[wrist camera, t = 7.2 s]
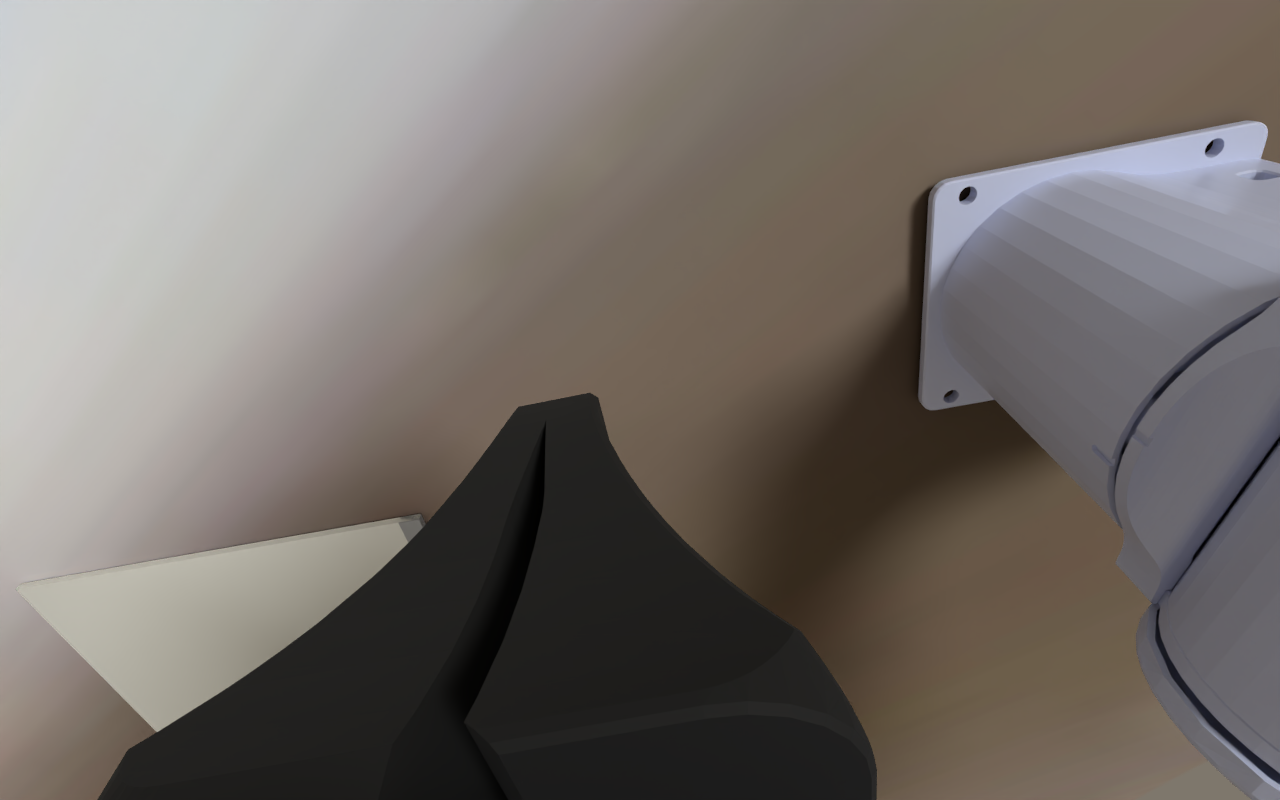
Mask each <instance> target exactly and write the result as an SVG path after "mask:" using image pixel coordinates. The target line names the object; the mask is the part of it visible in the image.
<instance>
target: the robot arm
mask: <svg viewBox="0 0 1280 800" xmlns="http://www.w3.org/2000/svg"><path fill="white" fill-rule="evenodd" d="M1267 135H1268V129H1267V127H1266V125H1265V124H1263V123H1261V122H1256V121H1241V122H1236V123H1231V124H1226V125H1221V126H1216V127H1211V128H1205V129H1200V130H1195V131H1190V132H1185V133H1180V134H1175V135H1169V136H1164V137H1159V138H1154V139H1149V140H1144V141H1139V142H1133V143H1128V144H1123V145H1118V146H1113V147H1108V148H1103V149H1098V150H1092V151H1087V152H1082V153H1077V154H1072V155H1067V156H1062V157H1056V158H1051V159H1046V160H1041V161H1036V162H1031V163H1026V164H1020V165H1015V166H1010V167H1005V168H1000V169H995V170H990V171H984V172H979V173H974V174H969V175H964V176H959V177H954V178H948V179H945V180H942V181H940V182H939V183H937V184H936V185H935V186H934V187H933V189H932V190H931V192H930V195H929V199H928V217H927V236H926V255H925V275H924V294H923V313H922V333H921V352H920V371H919V391H918V398H919V401H920V403H921V404H922V405H923V406H924V407H925V409H928V410H939V409H945V408H951V407H956V406H962V405H968V404H973V403H979V402H985V401H990V400H995V401H996V402H997V403H998V404H999V405H1000V406H1001V407H1002V408H1003V409H1004V410H1005V411H1006V412H1007V413H1008V414H1009V415H1010V416H1011V417H1012V418H1013V419H1014V420H1015V421H1016V422H1017V423H1018V424H1019V425H1020V426H1021V427H1022V428H1023V429H1024V430H1025V431H1026V432H1027V433H1028V434H1029V435H1030V436H1031V437H1032V438H1033V439H1034V440H1035V441H1036V442H1037V443H1038V444H1039V445H1040V446H1041V447H1042V448H1043V449H1044V450H1045V451H1046V452H1047V453H1048V454H1049V455H1050V456H1051V457H1052V458H1053V459H1054V460H1055V461H1056V462H1057V463H1058V464H1059V465H1060V466H1061V467H1062V468H1063V470H1064V471H1065V472H1066V473H1067V474H1068V475H1069V476H1070V477H1071V478H1072V479H1073V480H1074V481H1075V482H1076V483H1077V484H1078V485H1079V486H1080V487H1081V488H1082V489H1083V490H1084V491H1085V492H1086V493H1087V494H1088V495H1089V496H1090V497H1091V498H1092V499H1093V500H1094V501H1095V502H1096V503H1097V504H1098V505H1099V506H1100V507H1101V508H1102V509H1103V510H1104V511H1105V512H1106V513H1107V514H1108V515H1109V516H1110V517H1111V518H1112V519H1113V520H1114V521H1115V522H1116V523H1117V524H1118V525H1119V526H1120V527H1121V528H1122V529H1123V532H1124V543H1123V548H1122V550H1121V552H1120V554H1119V556H1118V558H1117V560H1116V565H1117V566H1118V567H1119V568H1120V569H1121V570H1122V571H1123V572H1124V573H1125V574H1126V575H1127V577H1128V578H1129V579H1130V580H1131V581H1132V582H1133V583H1134V584H1135V585H1136V586H1137V588H1138V589H1139V590H1140V591H1141V592H1142V593H1143V594H1144V595H1145V596H1146V597H1147V598H1148V600H1149V601H1150V602H1151V603H1152V604H1151V605H1150V606H1149V607H1148V609H1147V610H1146V612H1145V613H1144V614H1143V616H1142V617H1141V619H1140V622H1139V625H1138V629H1137V633H1136V650H1137V655H1138V659H1139V662H1140V665H1141V669H1142V672H1143V674H1144V676H1145V678H1146V680H1147V682H1148V684H1149V686H1150V688H1151V690H1152V692H1153V693H1154V695H1155V696H1156V698H1157V699H1158V701H1159V702H1160V704H1161V705H1162V707H1163V708H1164V710H1165V711H1166V713H1167V714H1168V716H1169V717H1170V719H1171V720H1172V721H1173V722H1174V723H1175V725H1176V726H1177V727H1178V728H1179V729H1180V731H1181V732H1182V733H1183V734H1184V735H1185V737H1186V738H1187V739H1188V740H1189V741H1190V743H1191V744H1192V745H1193V746H1194V747H1195V748H1196V749H1197V750H1198V751H1199V752H1200V753H1201V754H1202V755H1203V756H1204V757H1205V758H1206V759H1207V760H1208V761H1209V762H1210V763H1211V764H1212V765H1213V766H1214V767H1215V768H1216V769H1217V770H1218V771H1219V772H1220V773H1221V774H1222V775H1223V776H1224V777H1226V778H1227V779H1228V780H1229V781H1230V782H1231V783H1232V784H1233V785H1234V786H1236V787H1237V788H1238V789H1239V790H1240V791H1242V792H1243V793H1244V794H1245V795H1247V796H1248V797H1249V798H1250V799H1252V800H1280V164H1279V163H1275V162H1271V161H1267V160H1263V159H1261V156H1262V153H1263V149H1264V146H1265V143H1266V140H1267ZM1212 140H1213V145H1212V147H1211V149H1210V150H1209V151H1208V152H1207V153H1205V149H1206V147H1207V145H1208V144H1209V143H1210V142H1211V141H1212ZM968 186H970V189H971V191H970V194H969V196H968V197H967V198H966V199H965V200H963V201H959V195H960V192H961V191H962V190H963V189H964V188H966V187H968ZM951 390H953V393H952V394H951V395H950V396H947V397H944V395H945V394H946V393H947V392H948V391H951ZM876 790H877V769H876V764H875V759H874V755H873V751H872V748H871V745H870V743H869V740H868V738H867V736H866V734H865V731H864V729H863V727H862V725H861V723H860V721H859V720H858V718H857V716H856V714H855V712H854V710H853V708H852V706H851V705H850V703H849V701H848V700H847V698H846V696H845V695H844V693H843V691H842V690H841V688H840V686H839V685H838V683H837V682H836V680H835V679H834V677H833V676H832V674H831V673H830V671H829V670H828V668H827V667H826V665H825V664H824V662H823V661H822V660H821V658H820V657H819V656H818V654H817V653H816V651H815V650H814V649H813V647H812V646H811V644H810V643H809V642H808V640H807V639H806V638H805V636H804V635H803V633H802V632H801V631H800V630H798V629H797V628H795V627H794V626H792V625H791V624H789V623H788V622H786V621H785V620H783V619H781V618H780V617H778V616H777V615H775V614H774V613H772V612H771V611H769V610H768V609H767V608H765V607H764V606H762V605H761V604H760V603H758V602H757V601H755V600H754V599H752V598H751V597H750V596H748V595H747V594H746V593H744V592H743V591H742V590H741V589H739V588H738V587H737V586H736V585H734V584H733V583H732V582H730V581H729V580H728V579H727V578H725V577H724V576H723V575H721V574H720V573H719V572H718V571H717V570H716V569H715V568H714V567H713V566H711V565H710V564H709V563H708V562H707V561H706V560H705V559H704V558H703V557H701V556H700V555H699V554H698V553H697V552H696V551H695V550H694V549H693V548H692V547H690V546H689V545H688V544H687V543H686V542H685V541H684V540H683V539H682V538H681V537H680V536H679V535H678V534H677V533H676V532H675V531H674V530H673V528H672V527H671V526H670V525H669V524H668V523H667V522H666V521H665V520H664V519H663V518H662V516H661V515H660V514H659V513H658V512H657V511H656V509H655V508H654V507H653V506H652V505H651V503H650V502H649V501H648V500H647V498H646V497H645V496H644V494H643V493H642V492H641V490H640V489H639V488H638V486H637V485H636V483H635V482H634V480H633V479H632V478H631V476H630V475H629V473H628V472H627V470H626V469H625V467H624V465H623V464H622V462H621V461H620V459H619V457H618V455H617V453H616V451H615V450H614V448H613V446H612V444H611V442H610V441H609V437H608V434H607V430H606V426H605V422H604V418H603V415H602V411H601V407H600V403H599V399H598V397H596V396H594V395H593V394H591V393H587V394H581V395H576V396H571V397H566V398H561V399H556V400H551V401H546V402H541V403H536V404H531V405H526V406H521V407H518V408H517V409H516V411H515V412H514V413H513V414H512V416H511V417H510V418H509V420H508V421H507V423H506V424H505V425H504V427H503V428H502V429H501V431H500V432H499V434H498V435H497V436H496V438H495V439H494V441H493V442H492V443H491V445H490V446H489V447H488V449H487V450H486V451H485V453H484V454H483V455H482V457H481V458H480V459H479V461H478V462H477V463H476V465H475V466H474V467H473V469H472V470H471V471H470V473H469V474H468V475H467V476H466V478H465V479H464V480H463V481H462V483H461V484H460V485H459V486H458V487H457V489H456V490H455V491H454V492H453V493H452V494H451V496H450V497H449V498H448V499H447V500H446V501H445V503H444V504H443V505H442V506H441V507H440V509H439V510H438V511H437V512H436V513H435V514H434V516H433V517H432V518H431V519H430V520H429V521H428V523H427V524H426V525H425V526H424V527H423V528H422V529H421V530H420V531H419V532H418V533H417V534H416V535H415V536H414V537H413V538H412V539H411V540H410V542H409V543H408V544H407V545H406V546H405V547H403V548H402V549H401V550H400V551H399V552H398V553H397V554H396V555H395V556H394V557H393V558H392V559H391V560H390V561H389V562H388V563H387V564H386V565H385V566H384V567H383V568H382V569H381V570H380V571H378V572H377V573H376V574H375V575H374V576H373V577H372V578H371V579H370V580H368V581H367V582H366V583H365V584H364V585H362V586H361V587H360V588H359V589H358V590H356V591H355V592H354V593H353V594H352V595H351V596H349V597H348V598H347V599H346V600H345V601H343V602H342V603H341V604H340V605H339V606H337V607H336V608H335V609H334V610H333V611H331V612H330V613H329V614H328V615H327V616H326V617H324V618H323V619H322V620H321V621H319V622H318V623H317V624H316V625H314V626H313V627H312V628H311V629H309V630H308V631H307V632H305V633H304V634H303V635H301V636H300V637H299V638H297V639H296V640H295V641H293V642H292V643H291V644H289V645H288V646H287V647H285V648H284V649H283V650H281V651H280V652H278V653H277V654H275V655H274V656H273V657H271V658H270V659H268V660H267V661H266V662H264V663H263V664H261V665H260V666H259V667H257V668H256V669H254V670H253V671H251V672H250V673H249V674H247V675H246V676H244V677H243V678H241V679H240V680H238V681H237V682H235V683H234V684H232V685H231V686H229V687H228V688H226V689H225V690H223V691H222V692H220V693H219V694H217V695H215V696H214V697H212V698H211V699H209V700H207V701H206V702H204V703H203V704H201V705H200V706H198V707H196V708H195V709H193V710H192V711H190V712H188V713H187V714H185V715H184V716H182V717H180V718H179V719H177V720H176V721H174V722H173V723H171V724H169V725H168V726H166V727H165V728H163V729H161V730H160V731H158V732H157V733H155V734H153V735H152V736H150V737H149V738H147V739H145V740H144V741H142V742H140V743H138V744H137V745H135V746H133V747H132V748H130V749H129V750H128V751H127V752H126V754H125V756H124V757H123V759H122V760H121V762H120V764H119V765H118V767H117V769H116V770H115V772H114V774H113V775H112V777H111V778H110V780H109V782H108V783H107V785H106V787H105V788H104V790H103V792H102V793H101V795H100V796H99V798H98V800H876Z"/></svg>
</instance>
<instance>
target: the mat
mask: <svg viewBox="0 0 1280 800" xmlns="http://www.w3.org/2000/svg"><path fill="white" fill-rule="evenodd" d="M425 525H426V523H425V521H424V519H423V517H422V515H421V514H416V515H410V516H404V517H399V518H393V519H387V520H382V521H376V522H370V523H365V524H359V525H353V526H347V527H342V528H336V529H330V530H325V531H319V532H313V533H308V534H302V535H296V536H290V537H285V538H279V539H273V540H268V541H262V542H256V543H251V544H245V545H239V546H234V547H228V548H222V549H216V550H211V551H205V552H199V553H194V554H188V555H182V556H177V557H171V558H165V559H159V560H154V561H148V562H142V563H137V564H131V565H125V566H120V567H114V568H108V569H103V570H97V571H91V572H85V573H80V574H74V575H68V576H63V577H57V578H51V579H46V580H40V581H34V582H28V583H23V584H21V585H20V586H19V587H18V588H17V589H16V591H17V592H18V593H19V594H20V595H21V596H22V597H23V598H24V599H25V600H26V601H27V602H28V603H29V604H30V605H31V606H32V607H33V608H34V609H35V610H36V611H37V612H38V613H39V614H40V615H41V616H42V617H43V618H44V619H45V620H46V621H47V622H48V623H49V624H50V625H51V626H52V627H53V628H54V629H55V630H56V631H57V632H58V633H59V634H60V635H61V636H62V637H63V638H64V639H65V640H66V641H67V642H68V643H69V644H70V645H71V646H72V647H73V648H74V649H75V650H76V651H77V652H78V653H79V654H80V655H81V656H82V657H83V658H84V659H85V660H86V661H87V662H88V663H89V664H90V665H91V666H92V667H93V668H94V669H95V670H96V671H97V672H98V673H99V674H100V675H101V676H102V677H103V678H104V679H105V680H106V681H107V682H108V683H109V684H110V685H111V686H112V687H113V688H114V689H115V690H116V691H117V692H118V693H119V694H120V695H121V696H122V697H123V699H124V700H125V701H126V702H127V703H128V704H129V705H130V706H131V707H132V708H133V709H134V710H135V711H136V712H137V713H138V714H139V715H140V716H141V717H142V718H143V719H144V720H145V721H146V722H147V723H148V724H149V725H150V726H151V727H152V728H153V729H154V730H155V731H156V732H158V731H160V730H161V729H163V728H165V727H166V726H168V725H169V724H171V723H173V722H174V721H176V720H177V719H179V718H180V717H182V716H184V715H185V714H187V713H188V712H190V711H192V710H193V709H195V708H196V707H198V706H200V705H201V704H203V703H204V702H206V701H207V700H209V699H211V698H212V697H214V696H215V695H217V694H219V693H220V692H222V691H223V690H225V689H226V688H228V687H229V686H231V685H232V684H234V683H235V682H237V681H238V680H240V679H241V678H243V677H244V676H246V675H247V674H249V673H250V672H251V671H253V670H254V669H256V668H257V667H259V666H260V665H261V664H263V663H264V662H266V661H267V660H268V659H270V658H271V657H273V656H274V655H275V654H277V653H278V652H280V651H281V650H283V649H284V648H285V647H287V646H288V645H289V644H291V643H292V642H293V641H295V640H296V639H297V638H299V637H300V636H301V635H303V634H304V633H305V632H307V631H308V630H309V629H311V628H312V627H313V626H314V625H316V624H317V623H318V622H319V621H321V620H322V619H323V618H324V617H326V616H327V615H328V614H329V613H330V612H331V611H333V610H334V609H335V608H336V607H337V606H339V605H340V604H341V603H342V602H343V601H345V600H346V599H347V598H348V597H349V596H351V595H352V594H353V593H354V592H355V591H356V590H358V589H359V588H360V587H361V586H362V585H364V584H365V583H366V582H367V581H368V580H370V579H371V578H372V577H373V576H374V575H375V574H376V573H377V572H378V571H380V570H381V569H382V568H383V567H384V566H385V565H386V564H387V563H388V562H389V561H390V560H391V559H392V558H393V557H394V556H395V555H396V554H397V553H398V552H399V551H400V550H401V549H402V548H403V547H405V546H406V545H407V544H408V543H409V542H410V540H411V539H412V538H413V537H414V536H415V535H416V534H417V533H418V532H419V531H420V530H421V529H422V528H423V527H424V526H425Z"/></svg>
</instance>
